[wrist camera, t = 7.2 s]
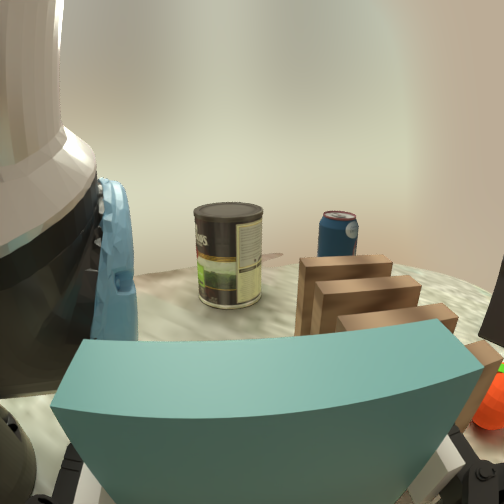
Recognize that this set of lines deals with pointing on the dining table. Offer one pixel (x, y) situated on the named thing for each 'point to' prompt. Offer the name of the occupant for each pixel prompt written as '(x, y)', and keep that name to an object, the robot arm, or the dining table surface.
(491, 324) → the phone stand
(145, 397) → the teal domino
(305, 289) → the walnut domino
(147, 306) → the dining table surface
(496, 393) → the clementine
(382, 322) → the walnut domino
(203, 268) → the coffee can
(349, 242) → the soda can
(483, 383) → the walnut domino
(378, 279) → the walnut domino
